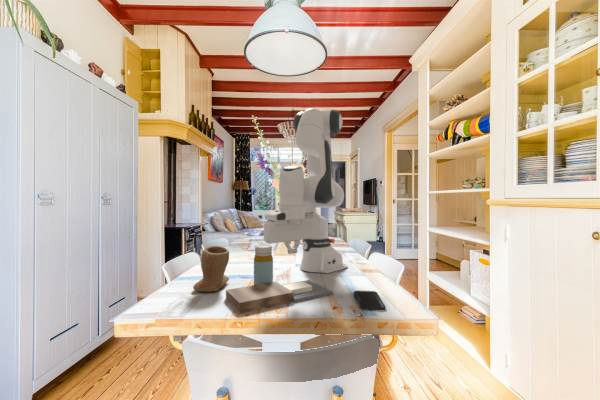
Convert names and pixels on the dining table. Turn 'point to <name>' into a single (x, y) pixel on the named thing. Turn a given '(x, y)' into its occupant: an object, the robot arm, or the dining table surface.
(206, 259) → the stone cup
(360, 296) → the phone
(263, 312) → the dining table surface
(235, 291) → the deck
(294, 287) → the tile
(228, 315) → the dining table surface
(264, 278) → the bottle
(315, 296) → the mat
